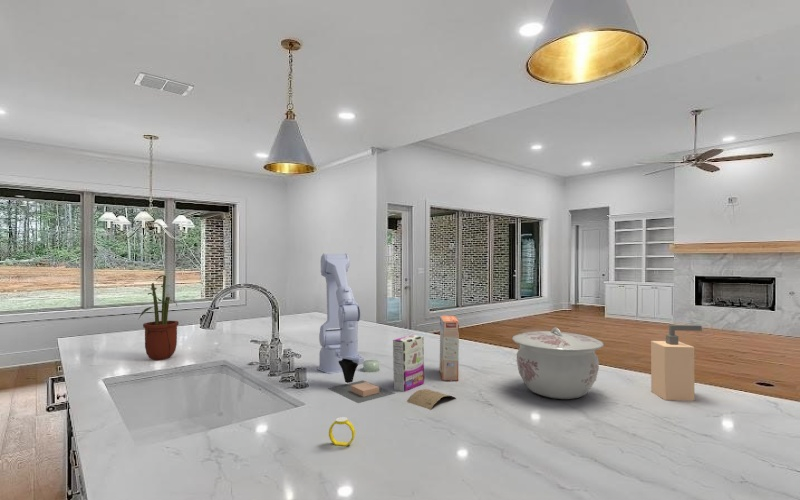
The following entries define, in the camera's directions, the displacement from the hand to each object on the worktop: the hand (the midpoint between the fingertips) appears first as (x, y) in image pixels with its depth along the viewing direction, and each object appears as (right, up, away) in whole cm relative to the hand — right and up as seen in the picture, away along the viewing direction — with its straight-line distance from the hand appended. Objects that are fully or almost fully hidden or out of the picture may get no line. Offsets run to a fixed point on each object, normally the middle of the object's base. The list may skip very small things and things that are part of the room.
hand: (348, 381), depth 145 cm
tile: (+4, 0, -4) cm, 6 cm away
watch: (+4, -1, -44) cm, 44 cm away
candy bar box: (+20, -2, -1) cm, 20 cm away
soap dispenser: (+104, -2, -10) cm, 104 cm away
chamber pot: (+67, -2, -6) cm, 67 cm away
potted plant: (-86, -2, +38) cm, 94 cm away
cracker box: (+35, -2, +13) cm, 37 cm away
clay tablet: (+26, -2, -13) cm, 30 cm away
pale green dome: (+6, -2, +19) cm, 20 cm away
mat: (+4, -1, -5) cm, 7 cm away
